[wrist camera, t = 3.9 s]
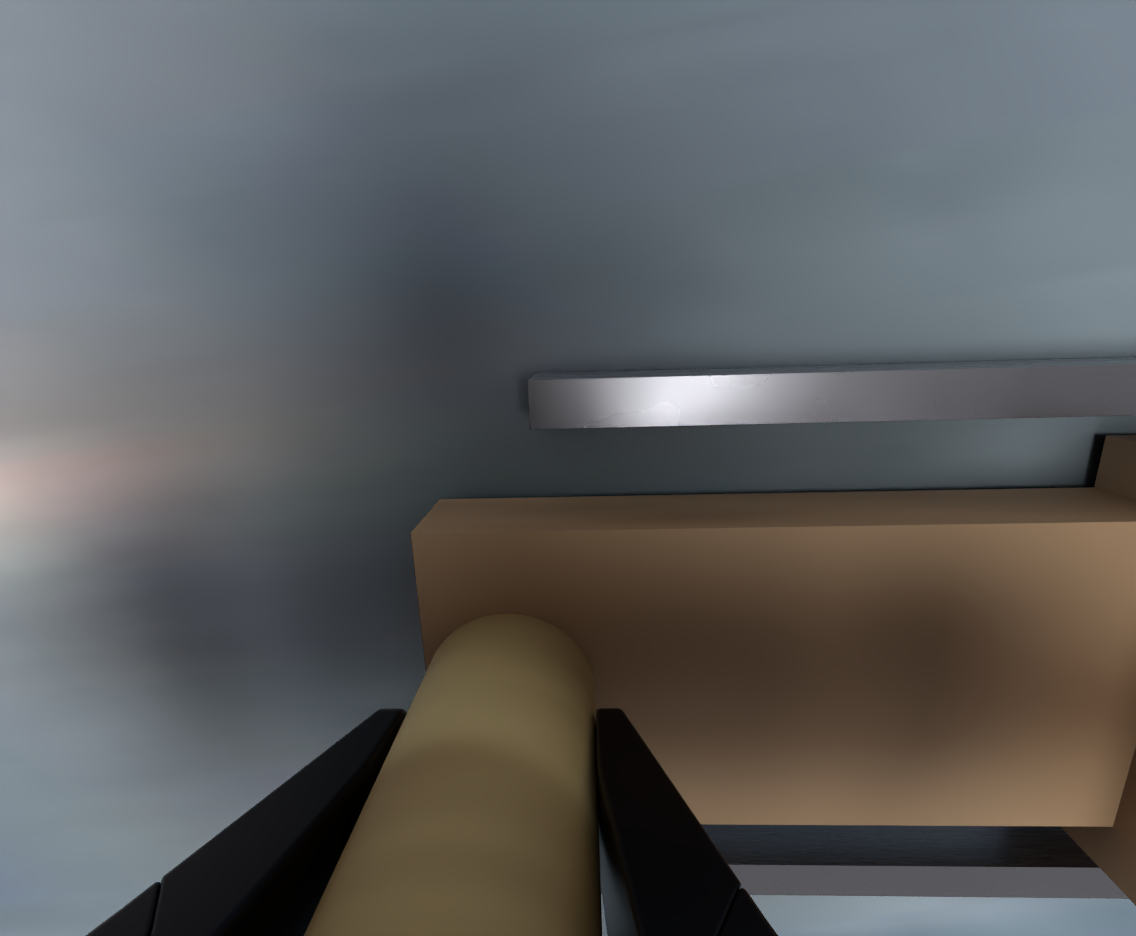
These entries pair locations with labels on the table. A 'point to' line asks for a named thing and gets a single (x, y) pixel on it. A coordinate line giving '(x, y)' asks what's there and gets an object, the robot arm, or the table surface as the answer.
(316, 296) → the table surface
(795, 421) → the clamp rails
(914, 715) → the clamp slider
